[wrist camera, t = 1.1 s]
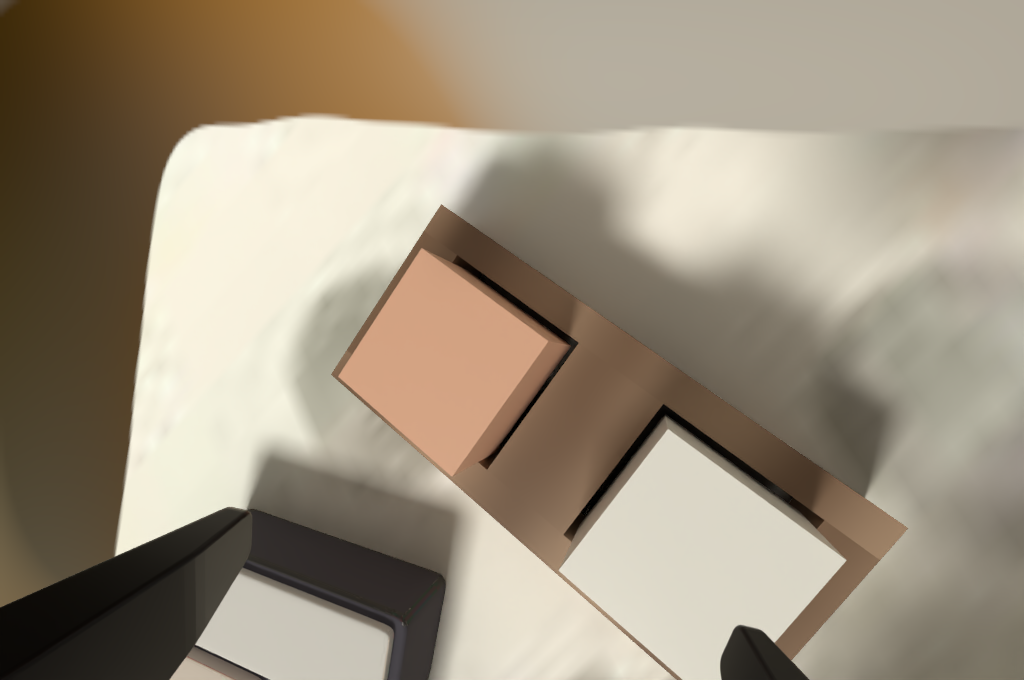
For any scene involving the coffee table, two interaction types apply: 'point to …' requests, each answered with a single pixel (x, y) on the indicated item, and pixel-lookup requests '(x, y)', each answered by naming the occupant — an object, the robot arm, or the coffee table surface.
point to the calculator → (319, 613)
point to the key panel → (625, 433)
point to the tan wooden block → (452, 362)
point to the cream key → (695, 553)
